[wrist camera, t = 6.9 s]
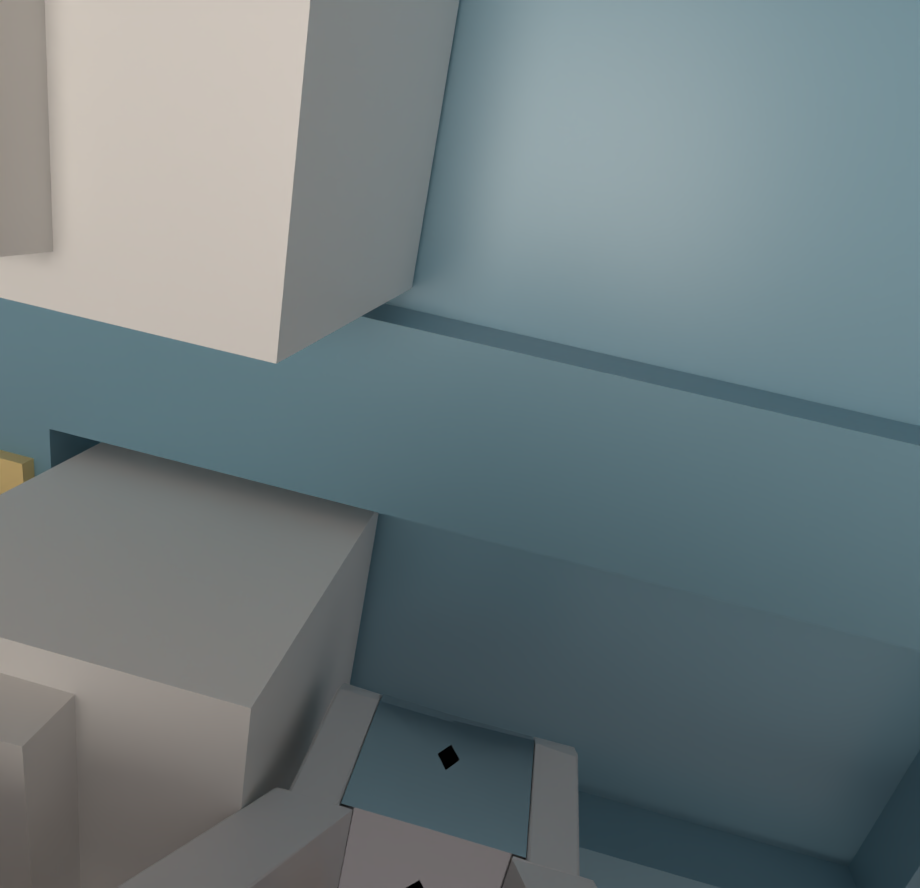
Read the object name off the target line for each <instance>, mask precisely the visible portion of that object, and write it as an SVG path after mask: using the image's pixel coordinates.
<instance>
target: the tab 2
mask: <svg viewBox="0 0 920 888" xmlns="http://www.w3.org/2000/svg"><path fill="white" fill-rule="evenodd" d="M378 514H379V513H377V512H374V511H370V510H366V509H362V508H358V507H354V506H350V505H346V504H342V503H338V502H334V501H330V500H327V499H323V498H319V497H315V496H311V495H307V494H303V493H299V492H295V491H291V490H287V489H283V488H279V487H276V486H272V485H268V484H264V483H260V482H256V481H252V480H248V479H244V478H240V477H236V476H232V475H229V474H225V473H221V472H217V471H213V470H209V469H205V468H201V467H197V466H193V465H189V464H185V463H181V462H178V461H174V460H170V459H166V458H162V457H158V456H154V455H150V454H146V453H142V452H138V451H134V450H131V449H127V448H123V447H119V446H115V445H111V444H107V443H103V442H101V443H99V444H97V445H95V446H93V447H91V448H89V449H87V450H85V451H84V452H82V453H80V454H78V455H76V456H74V457H72V458H70V459H68V460H66V461H64V462H62V463H60V464H58V465H57V466H55V467H53V468H51V469H49V470H47V471H45V472H43V473H41V474H39V475H37V476H35V477H33V478H31V479H29V480H28V481H26V482H24V483H22V484H20V485H18V486H16V487H14V488H12V489H10V490H8V491H6V492H4V493H2V494H1V495H0V888H117V887H118V886H120V885H121V884H123V883H125V882H126V881H128V880H129V879H131V878H133V877H134V876H136V875H137V874H139V873H140V872H142V871H144V870H145V869H147V868H148V867H150V866H152V865H153V864H155V863H156V862H158V861H160V860H161V859H163V858H164V857H166V856H168V855H169V854H171V853H172V852H174V851H175V850H177V849H179V848H180V847H182V846H183V845H185V844H187V843H188V842H190V841H191V840H193V839H195V838H196V837H198V836H199V835H201V834H202V833H204V832H206V831H207V830H209V829H210V828H212V827H214V826H215V825H217V824H218V823H220V822H222V821H223V820H225V819H226V818H228V817H230V816H231V815H233V814H234V813H236V812H237V811H239V810H241V809H242V808H244V807H245V806H247V805H249V804H250V803H252V802H253V801H255V800H257V799H258V798H260V797H261V796H263V795H265V794H266V793H268V792H269V791H271V790H272V789H274V788H276V787H278V788H282V789H286V790H289V789H290V787H291V785H292V783H293V781H294V779H295V777H296V775H297V773H298V771H299V769H300V767H301V764H302V762H303V760H304V758H305V756H306V754H307V752H308V750H309V748H310V746H311V744H312V742H313V739H314V737H315V735H316V733H317V731H318V729H319V727H320V725H321V723H322V721H323V719H324V717H325V714H326V712H327V710H328V708H329V706H330V704H331V702H332V700H333V698H334V696H335V694H336V692H337V690H338V689H339V688H340V687H341V686H342V685H343V683H347V684H350V680H351V674H352V668H353V662H354V656H355V650H356V645H357V639H358V633H359V627H360V621H361V615H362V609H363V603H364V597H365V591H366V585H367V579H368V573H369V567H370V561H371V556H372V550H373V544H374V538H375V532H376V526H377V520H378Z"/></svg>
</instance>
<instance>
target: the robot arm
mask: <svg viewBox="0 0 920 888" xmlns="http://www.w3.org/2000/svg"><path fill="white" fill-rule="evenodd" d="M117 888H597V886H596V884H595V883H594V881H593V880H590V879H587V878H584V877H581V876H580V871H579V805H578V754H577V752H576V750H575V748H574V747H571V746H568V745H564V744H560V743H556V742H553V741H549V740H545V739H541V738H537V737H534V738H532V736H529V735H525V734H521V733H517V732H514V731H510V730H506V729H503V728H499V727H495V726H492V725H488V724H484V723H480V722H477V721H473V720H469V719H466V718H462V717H458V716H455V715H450V714H447V713H444V712H441V711H437V710H434V709H431V708H428V707H424V706H421V705H418V704H415V703H411V702H408V701H405V700H402V699H398V698H395V697H392V696H388V695H385V694H383V695H381V694H378V693H375V692H372V691H369V690H366V689H362V688H359V687H356V686H353V685H350V684H347V683H343V685H342V686H341V687H340V688H339V689H338V690H337V692H336V694H335V696H334V698H333V700H332V702H331V704H330V706H329V708H328V710H327V712H326V714H325V717H324V719H323V721H322V723H321V725H320V727H319V729H318V731H317V733H316V735H315V737H314V739H313V742H312V744H311V746H310V748H309V750H308V752H307V754H306V756H305V758H304V760H303V762H302V764H301V767H300V769H299V771H298V773H297V775H296V777H295V779H294V781H293V783H292V785H291V787H290V789H289V790H286V789H282V788H278V787H276V788H274V789H272V790H271V791H269V792H268V793H266V794H265V795H263V796H261V797H260V798H258V799H257V800H255V801H253V802H252V803H250V804H249V805H247V806H245V807H244V808H242V809H241V810H239V811H237V812H236V813H234V814H233V815H231V816H230V817H228V818H226V819H225V820H223V821H222V822H220V823H218V824H217V825H215V826H214V827H212V828H210V829H209V830H207V831H206V832H204V833H202V834H201V835H199V836H198V837H196V838H195V839H193V840H191V841H190V842H188V843H187V844H185V845H183V846H182V847H180V848H179V849H177V850H175V851H174V852H172V853H171V854H169V855H168V856H166V857H164V858H163V859H161V860H160V861H158V862H156V863H155V864H153V865H152V866H150V867H148V868H147V869H145V870H144V871H142V872H140V873H139V874H137V875H136V876H134V877H133V878H131V879H129V880H128V881H126V882H125V883H123V884H121V885H120V886H118V887H117Z"/></svg>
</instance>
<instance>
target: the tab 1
mask: <svg viewBox="0 0 920 888" xmlns="http://www.w3.org/2000/svg"><path fill="white" fill-rule="evenodd" d="M458 6H459V0H0V298H4V299H8V300H13V301H17V302H21V303H25V304H29V305H33V306H38V307H42V308H46V309H50V310H54V311H58V312H63V313H67V314H71V315H75V316H79V317H83V318H88V319H92V320H96V321H100V322H104V323H108V324H113V325H117V326H121V327H125V328H129V329H133V330H138V331H142V332H146V333H150V334H154V335H158V336H163V337H167V338H171V339H175V340H179V341H184V342H188V343H192V344H196V345H200V346H204V347H209V348H213V349H217V350H221V351H225V352H229V353H234V354H238V355H242V356H246V357H250V358H254V359H259V360H263V361H267V362H271V363H275V364H277V363H279V362H280V361H282V360H284V359H286V358H287V357H289V356H291V355H293V354H295V353H296V352H298V351H300V350H302V349H304V348H305V347H307V346H309V345H311V344H313V343H314V342H316V341H318V340H320V339H321V338H323V337H325V336H327V335H329V334H330V333H332V332H334V331H336V330H338V329H339V328H341V327H343V326H345V325H346V324H348V323H350V322H352V321H354V320H355V319H357V318H359V317H361V316H363V315H364V314H366V313H368V312H370V311H372V310H373V309H375V308H377V307H379V306H380V305H382V304H384V303H386V302H388V301H389V300H391V299H393V298H395V297H397V296H398V295H400V294H402V293H404V292H406V291H407V290H409V289H411V288H412V283H413V277H414V271H415V265H416V259H417V253H418V247H419V241H420V235H421V229H422V223H423V217H424V211H425V205H426V199H427V193H428V187H429V181H430V175H431V169H432V163H433V157H434V151H435V145H436V139H437V133H438V127H439V121H440V114H441V108H442V102H443V96H444V90H445V84H446V78H447V72H448V66H449V60H450V54H451V48H452V42H453V36H454V30H455V24H456V18H457V12H458Z"/></svg>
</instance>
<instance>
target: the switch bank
mask: <svg viewBox="0 0 920 888" xmlns="http://www.w3.org/2000/svg"><path fill="white" fill-rule="evenodd" d="M101 442H103V443H107V444H111V445H115V446H119V447H123V448H127V449H131V450H134V451H138V452H142V453H146V454H150V455H154V456H158V457H162V458H166V459H170V460H174V461H178V462H181V463H185V464H189V465H193V466H197V467H201V468H205V469H209V470H213V471H217V472H221V473H225V474H229V475H232V476H236V477H240V478H244V479H248V480H252V481H256V482H260V483H264V484H268V485H272V486H276V487H279V488H283V489H287V490H291V491H295V492H299V493H303V494H307V495H311V496H315V497H319V498H323V499H327V500H330V501H334V502H338V503H342V504H346V505H350V506H354V507H358V508H362V509H366V510H370V511H374V512H377V513H379V514H378V520H377V526H376V532H375V538H374V544H373V550H372V556H371V561H370V567H369V573H368V579H367V585H366V591H365V597H364V603H363V609H362V615H361V621H360V627H359V633H358V639H357V645H356V650H355V656H354V662H353V668H352V674H351V680H350V685H353V686H356V687H359V688H362V689H366V690H369V691H372V692H375V693H378V694H381V695H383V694H385V695H388V696H392V697H395V698H398V699H402V700H405V701H408V702H411V703H415V704H418V705H421V706H424V707H428V708H431V709H434V710H437V711H441V712H444V713H447V714H450V715H455V716H458V717H462V718H466V719H469V720H473V721H477V722H480V723H484V724H488V725H492V726H495V727H499V728H503V729H506V730H510V731H514V732H517V733H521V734H525V735H529V736H532V738H534V737H537V738H541V739H545V740H549V741H553V742H556V743H560V744H564V745H568V746H571V747H574V748H575V750H576V752H577V754H578V805H579V871H580V876H581V877H584V878H587V879H590V880H593V881H594V883H595V884H596V886H597V888H920V0H459V6H458V12H457V18H456V24H455V30H454V36H453V42H452V48H451V54H450V60H449V66H448V72H447V78H446V84H445V90H444V96H443V102H442V108H441V114H440V121H439V127H438V133H437V139H436V145H435V151H434V157H433V163H432V169H431V175H430V181H429V187H428V193H427V199H426V205H425V211H424V217H423V223H422V229H421V235H420V241H419V247H418V253H417V259H416V265H415V271H414V277H413V283H412V288H411V289H409V290H407V291H406V292H404V293H402V294H400V295H398V296H397V297H395V298H393V299H391V300H389V301H388V302H386V303H384V304H382V305H380V306H379V307H377V308H375V309H373V310H372V311H370V312H368V313H366V314H364V315H363V316H361V317H359V318H357V319H355V320H354V321H352V322H350V323H348V324H346V325H345V326H343V327H341V328H339V329H338V330H336V331H334V332H332V333H330V334H329V335H327V336H325V337H323V338H321V339H320V340H318V341H316V342H314V343H313V344H311V345H309V346H307V347H305V348H304V349H302V350H300V351H298V352H296V353H295V354H293V355H291V356H289V357H287V358H286V359H284V360H282V361H280V362H279V363H277V364H275V363H271V362H267V361H263V360H259V359H254V358H250V357H246V356H242V355H238V354H234V353H229V352H225V351H221V350H217V349H213V348H209V347H204V346H200V345H196V344H192V343H188V342H184V341H179V340H175V339H171V338H167V337H163V336H158V335H154V334H150V333H146V332H142V331H138V330H133V329H129V328H125V327H121V326H117V325H113V324H108V323H104V322H100V321H96V320H92V319H88V318H83V317H79V316H75V315H71V314H67V313H63V312H58V311H54V310H50V309H46V308H42V307H38V306H33V305H29V304H25V303H21V302H17V301H13V300H8V299H4V298H0V495H1V494H2V493H4V492H6V491H8V490H10V489H12V488H14V487H16V486H18V485H20V484H22V483H24V482H26V481H28V480H29V479H31V478H33V477H35V476H37V475H39V474H41V473H43V472H45V471H47V470H49V469H51V468H53V467H55V466H57V465H58V464H60V463H62V462H64V461H66V460H68V459H70V458H72V457H74V456H76V455H78V454H80V453H82V452H84V451H85V450H87V449H89V448H91V447H93V446H95V445H97V444H99V443H101Z"/></svg>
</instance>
